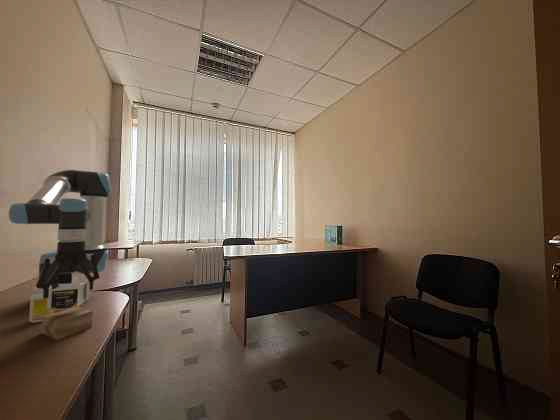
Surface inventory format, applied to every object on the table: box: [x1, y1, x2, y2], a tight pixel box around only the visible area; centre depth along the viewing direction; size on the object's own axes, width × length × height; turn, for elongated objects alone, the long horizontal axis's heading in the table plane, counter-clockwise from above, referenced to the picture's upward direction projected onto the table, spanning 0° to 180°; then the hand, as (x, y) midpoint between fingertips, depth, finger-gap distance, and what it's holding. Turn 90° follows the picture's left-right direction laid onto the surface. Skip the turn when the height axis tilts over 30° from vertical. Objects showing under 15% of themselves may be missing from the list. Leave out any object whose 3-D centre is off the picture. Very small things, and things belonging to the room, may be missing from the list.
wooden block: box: [41, 306, 93, 341], centre depth 81 cm, size 10×10×6 cm
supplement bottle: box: [28, 286, 55, 324], centre depth 89 cm, size 7×7×13 cm
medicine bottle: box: [51, 272, 86, 312], centre depth 82 cm, size 7×7×12 cm
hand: (68, 302), depth 82 cm, fingers closed on medicine bottle, 9 cm apart
